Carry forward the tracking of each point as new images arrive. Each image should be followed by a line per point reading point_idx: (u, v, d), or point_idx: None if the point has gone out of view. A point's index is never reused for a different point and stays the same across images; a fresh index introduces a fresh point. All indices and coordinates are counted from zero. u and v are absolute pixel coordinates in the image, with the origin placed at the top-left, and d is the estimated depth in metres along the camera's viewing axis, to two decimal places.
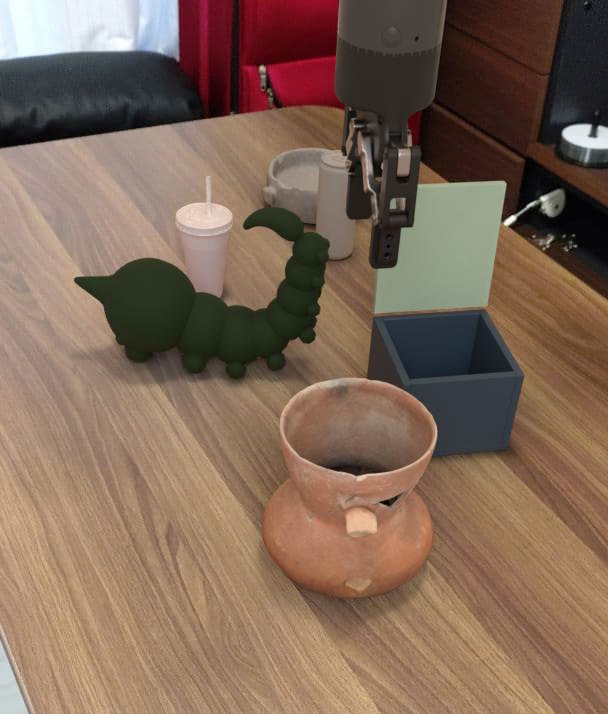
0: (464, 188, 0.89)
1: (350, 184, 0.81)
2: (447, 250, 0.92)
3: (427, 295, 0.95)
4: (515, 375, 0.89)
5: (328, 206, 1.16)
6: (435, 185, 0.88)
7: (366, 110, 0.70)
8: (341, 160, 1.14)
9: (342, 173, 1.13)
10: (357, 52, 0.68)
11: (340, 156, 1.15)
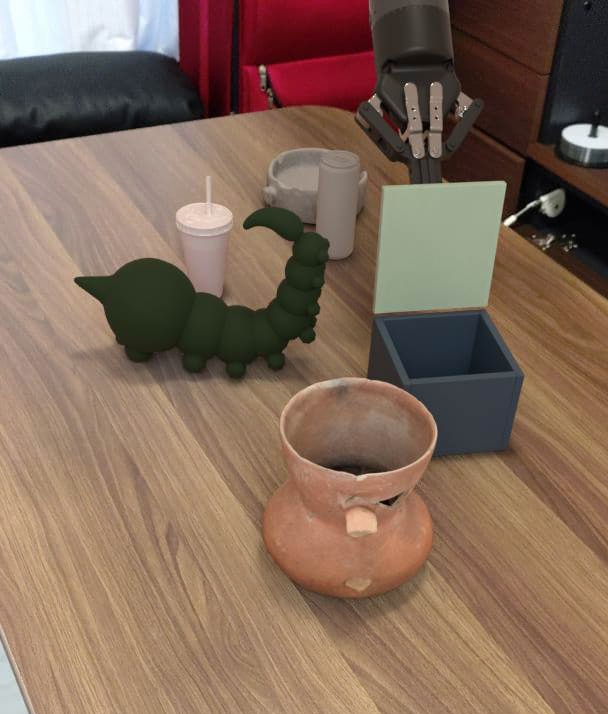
0: (464, 188, 0.89)
1: None
2: (447, 250, 0.92)
3: (427, 295, 0.95)
4: (515, 375, 0.89)
5: (328, 206, 1.16)
6: (435, 185, 0.88)
7: None
8: (341, 160, 1.14)
9: (342, 173, 1.13)
10: None
11: (340, 156, 1.15)
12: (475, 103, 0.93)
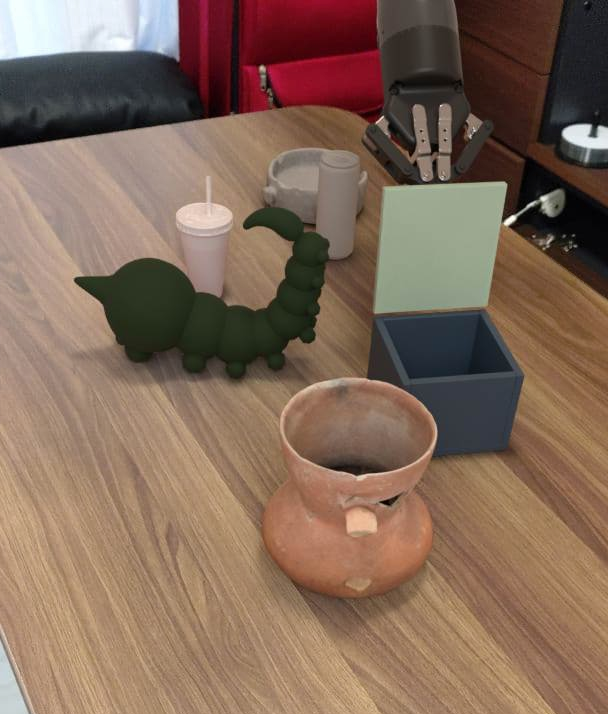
0: (465, 189, 0.88)
1: None
2: (448, 251, 0.92)
3: (427, 295, 0.95)
4: (515, 375, 0.89)
5: (328, 206, 1.16)
6: (436, 186, 0.88)
7: None
8: (341, 160, 1.14)
9: (342, 173, 1.13)
10: None
11: (340, 156, 1.15)
12: (485, 125, 0.91)
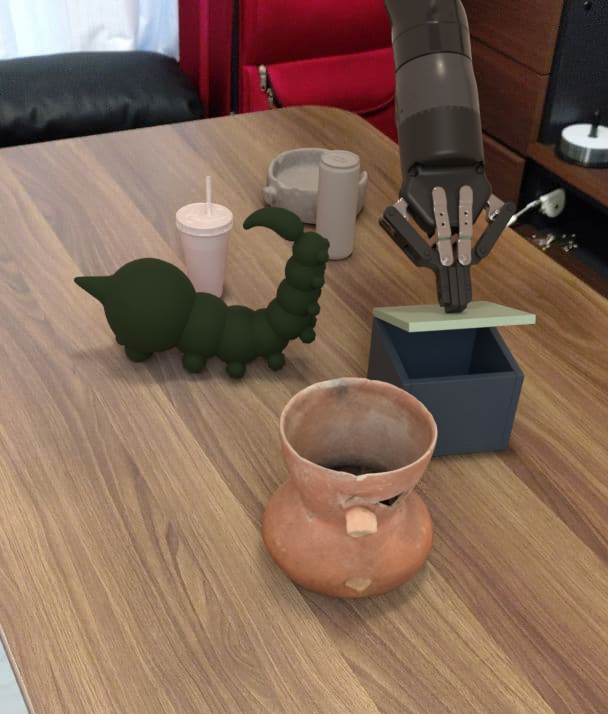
0: None
1: None
2: None
3: None
4: (515, 375, 0.89)
5: (328, 206, 1.16)
6: (462, 325, 0.85)
7: None
8: (341, 160, 1.14)
9: (342, 173, 1.13)
10: None
11: (340, 156, 1.15)
12: (507, 207, 0.88)
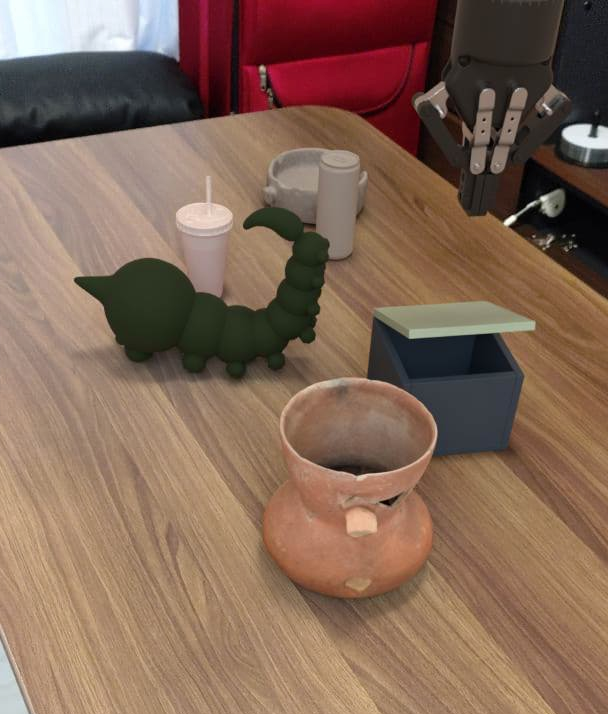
0: (490, 332, 0.86)
1: None
2: None
3: None
4: (515, 375, 0.89)
5: (328, 206, 1.16)
6: (462, 332, 0.85)
7: None
8: (341, 160, 1.14)
9: (342, 173, 1.13)
10: None
11: (340, 156, 1.15)
12: (562, 108, 0.75)
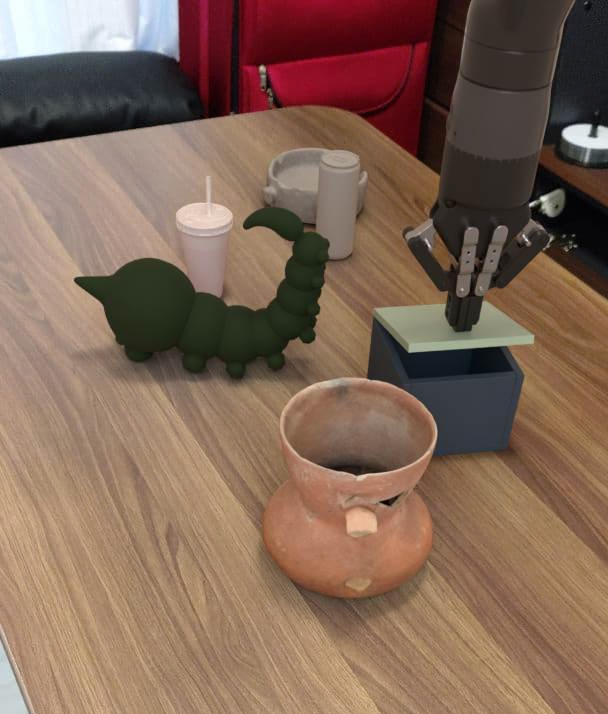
0: None
1: None
2: None
3: None
4: (515, 375, 0.89)
5: (328, 206, 1.16)
6: (461, 346, 0.86)
7: None
8: (341, 160, 1.14)
9: (342, 173, 1.13)
10: None
11: (340, 156, 1.15)
12: (540, 240, 0.82)
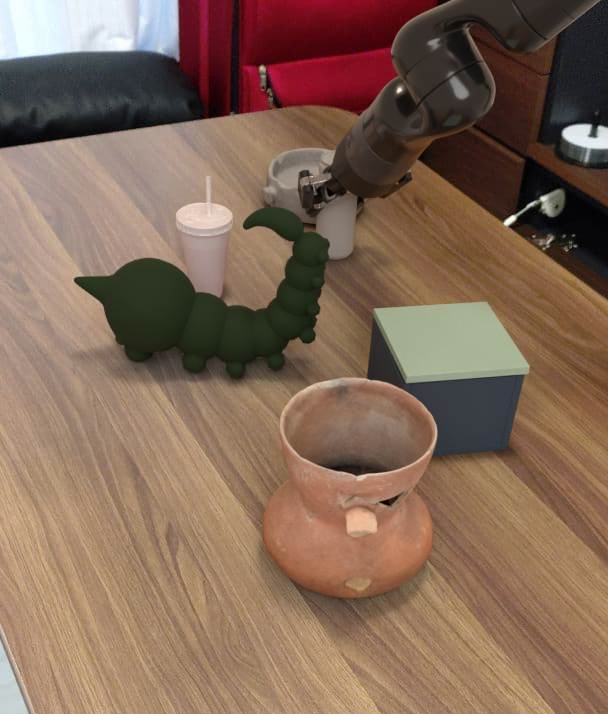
0: None
1: None
2: None
3: None
4: (515, 375, 0.89)
5: (328, 206, 1.16)
6: (458, 377, 0.87)
7: (336, 150, 1.07)
8: None
9: None
10: None
11: None
12: (405, 181, 1.13)
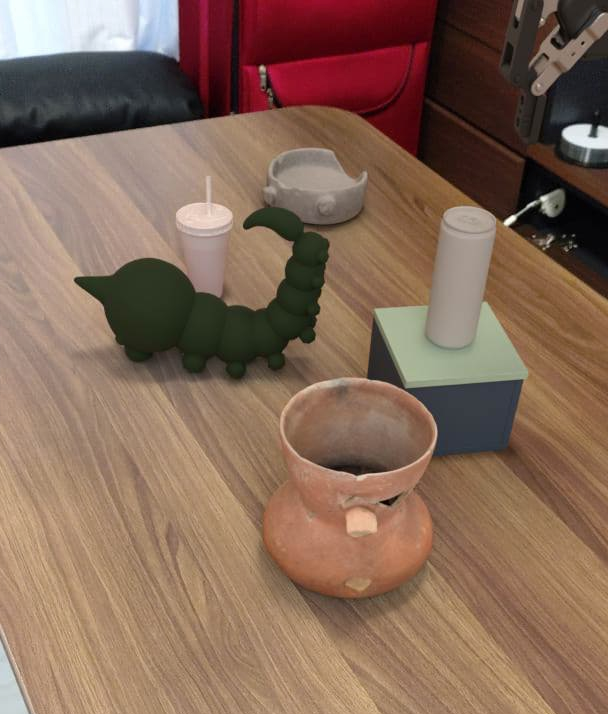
0: None
1: None
2: None
3: None
4: None
5: (450, 282, 0.85)
6: (457, 382, 0.88)
7: None
8: (471, 221, 0.83)
9: (474, 240, 0.82)
10: None
11: (469, 215, 0.84)
12: None
